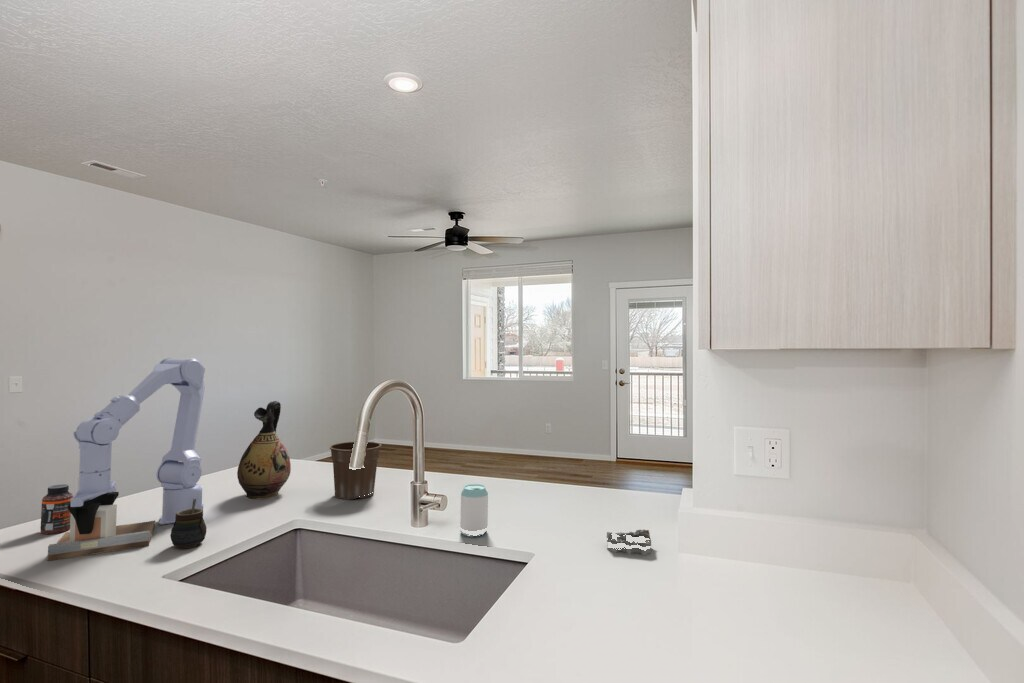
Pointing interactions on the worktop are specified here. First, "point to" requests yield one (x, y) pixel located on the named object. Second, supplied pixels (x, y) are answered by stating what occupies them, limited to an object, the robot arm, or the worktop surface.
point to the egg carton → (623, 540)
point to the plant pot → (354, 471)
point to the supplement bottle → (56, 510)
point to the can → (474, 508)
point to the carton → (97, 524)
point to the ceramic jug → (265, 458)
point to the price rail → (98, 542)
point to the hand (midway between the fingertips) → (93, 529)
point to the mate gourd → (188, 528)
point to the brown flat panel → (119, 531)
